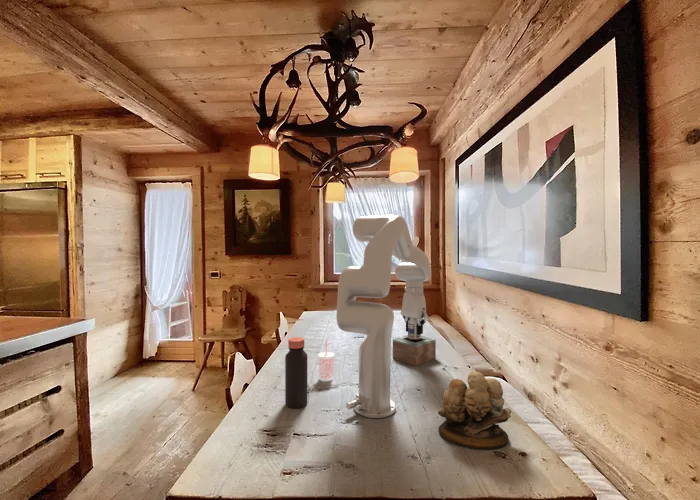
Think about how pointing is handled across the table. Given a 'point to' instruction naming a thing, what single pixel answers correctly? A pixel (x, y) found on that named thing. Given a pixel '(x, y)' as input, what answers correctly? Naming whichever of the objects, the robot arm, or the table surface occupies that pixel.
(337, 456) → the table surface
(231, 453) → the table surface
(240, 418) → the table surface
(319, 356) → the beverage cup
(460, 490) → the table surface
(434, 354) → the box
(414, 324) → the pill bottle
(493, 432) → the owl figurine
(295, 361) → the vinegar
